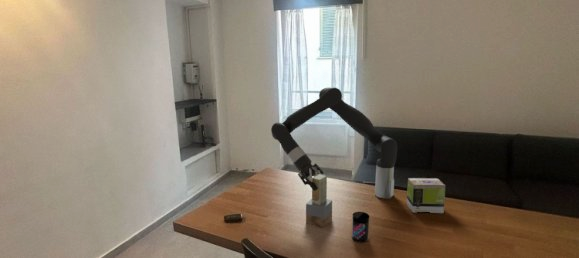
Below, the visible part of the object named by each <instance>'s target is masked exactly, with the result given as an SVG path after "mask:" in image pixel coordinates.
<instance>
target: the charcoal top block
mask: <svg viewBox="0 0 579 258" xmlns="http://www.w3.org/2000/svg"><path fill="white" fill-rule="evenodd" d="M331 211H332V212H333V200H332V199H327V200H326V201H325V202H323V203H322V204H320V205H318V204H315V203H312V198H311V199H310V200H308V202H307V203H306V204H305V215H306V214H308V215H312V216H316V217H320V218H325V217H326V216H327V215H328V214H329V213H330V212H331Z"/></svg>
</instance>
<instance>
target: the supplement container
mask: <svg viewBox="0 0 579 258" xmlns="http://www.w3.org/2000/svg"><path fill="white" fill-rule="evenodd" d="M351 219H352V223H351V224H352V226H351V227H352V229H351V231H352V232H351V237H352V239H353V240H354V241H355V242H357V243H365V242H367V241H368V240H369V232H370V231H369V229H370V226H369V225H370V214H368V213H367V212H364V211H354V212H353V213H352V218H351Z"/></svg>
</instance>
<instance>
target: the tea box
mask: <svg viewBox="0 0 579 258" xmlns="http://www.w3.org/2000/svg"><path fill="white" fill-rule="evenodd" d="M406 190H407V191H406V205H407V206H408V208H409V209H411V210H410V211H411V212H412V213H417V212H430V214H444V212H445V200H446V199H445V197H446V184H444V183H443V181H441V180H440V179H439V178H436V177H434V178H433V177H430V178H427V177H408V178H407V189H406Z"/></svg>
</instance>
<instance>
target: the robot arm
mask: <svg viewBox="0 0 579 258" xmlns="http://www.w3.org/2000/svg"><path fill="white" fill-rule="evenodd" d="M342 98H343V93H342V91H341V90H340V88H337V87H333V86H330V87H324V88H322V89H321V90H320V91H319V94H318V99H316V100H314V101H313V102H312V103H310V104H307V105H305V106H303V107H301V108H299V109H297V110H296V111H294V112H293V113H291V114H289V116H287V117H286V119H285V120H284V121H283V122H275V123H273V125H271V137H272V138H273V139H274V140H276V141H278V142H279V144H280V146H281V148H282V150H283V151H284V152H285V154H286V155H287V157H288V158H289V159H290V161H291V163H292V164H293V165H294V166H295V168H296V169H297V171H298V172H299V173H298V174H297V177H299V179H300V180H301V181H302V183H303V184H304V186H306V185H308V186H309V187H310V188H311V190H312V189H313V190H314V191H316V190H317V189H318V187H317V186H316V185H315V183H314V182H312V178H313V177H315V176H316V175H318V174H321V175H324V171H323V170H322V169H321V167H320V166H319V165H318V164H317V163H314V164H312V160H311V158H310V157H309V156H308V154H307V153H306V152H305V151H304V149H303V148H302V147H301V146H300V144H299V143H297V141H296V139H294V138H293V136H292V133H293V131H294V130H296V129H298V128H300V127H301V126H302V125H303V124H305V123H307V122H308V121H309V120H311V119H312V118H314V117H316V116H317V115H318V114H320V113H322V112H324V111H326V110H328V109H330V110H331V111H333V112H334V113H335V114H336V115H338V117H339V118H340V119H342V120H343V121H344V122H345V123H346V124H347V125H348V126H349V127H350V128H352V129H353V130H354V131H355V132H357V133H358V134H359V135H360V136H362V137H364V138H365V139H366V140H367V141H369V142H370V143H371V145H372V146H373V148H375V149H376V150H377V151H378V153H380V158H378V159H377V160H376V166H375V167H376V168H375V183H374V186H375V187H374V196H375V197H377V198H380V199H387V200H388V199H389V200H391V199H392V197H393V196H394V190H395V189H394V188H395V179H394V173H395V164H396V162H397V157H398V156H397V155H398V143H397V141H396V140H395V139H394V138H391V137H389V136H387V135H385V134H384V133H382V132H380V131H379V130H378V129H377V128H375V125H373V123H372V121H371V120H370V119H369V118H368V117H367V116H366V114H364V113H363V112H362V111H360V110H359V109H358V108H355V107H354V106H352V105H350V104H348V103H347V102H345V101H344V100H343V99H342Z"/></svg>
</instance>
